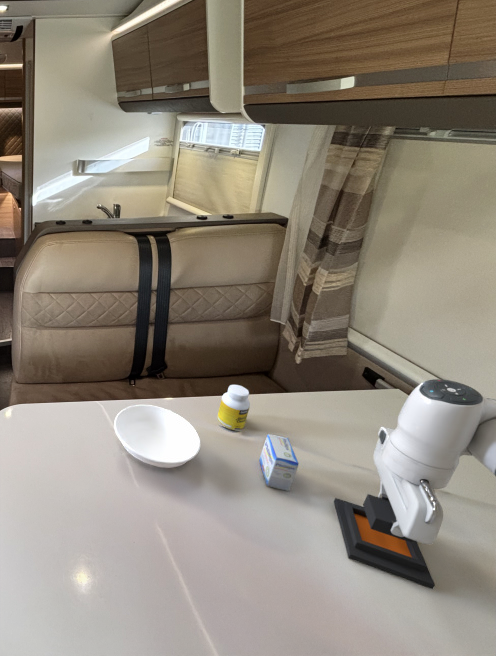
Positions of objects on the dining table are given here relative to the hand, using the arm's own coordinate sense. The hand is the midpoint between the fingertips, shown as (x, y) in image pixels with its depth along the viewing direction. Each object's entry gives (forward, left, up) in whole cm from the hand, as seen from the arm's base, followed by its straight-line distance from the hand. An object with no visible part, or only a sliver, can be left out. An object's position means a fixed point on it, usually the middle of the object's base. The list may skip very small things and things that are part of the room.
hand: (389, 516), depth 82 cm
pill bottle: (+26, -23, -7) cm, 35 cm away
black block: (0, 0, -2) cm, 2 cm away
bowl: (+43, -4, -7) cm, 44 cm away
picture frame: (0, 0, -7) cm, 7 cm away
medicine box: (+17, -9, -7) cm, 20 cm away
